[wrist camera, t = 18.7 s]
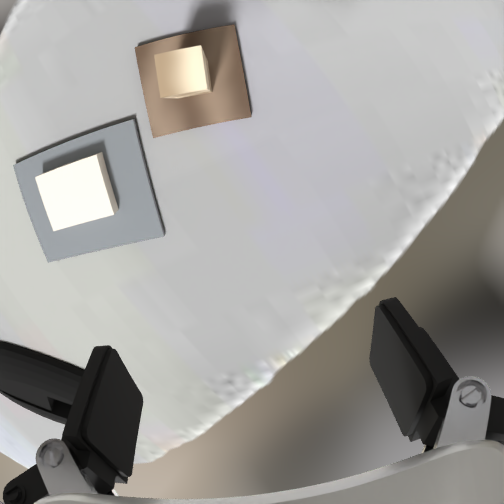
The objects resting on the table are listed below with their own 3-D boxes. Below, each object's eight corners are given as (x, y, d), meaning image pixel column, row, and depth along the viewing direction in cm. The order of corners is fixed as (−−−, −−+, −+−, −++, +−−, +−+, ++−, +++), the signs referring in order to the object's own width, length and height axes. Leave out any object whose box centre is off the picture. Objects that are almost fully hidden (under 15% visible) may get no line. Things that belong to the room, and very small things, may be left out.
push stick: (207, 60, 32) (201, 45, 22) (212, 92, 33) (207, 88, 24) (173, 67, 32) (154, 54, 22) (178, 98, 33) (160, 97, 24)
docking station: (-31, 321, 47) (-41, 335, 43) (128, 377, 56) (123, 397, 51) (-7, 387, 57) (-13, 400, 53) (126, 434, 66) (124, 450, 61)
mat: (134, 118, 35) (133, 119, 34) (165, 233, 42) (164, 236, 41) (15, 164, 35) (13, 165, 34) (50, 259, 42) (48, 262, 42)
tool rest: (234, 26, 31) (234, 24, 30) (250, 116, 36) (251, 117, 35) (136, 48, 31) (134, 47, 30) (154, 137, 36) (153, 138, 35)
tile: (119, 208, 39) (102, 151, 35) (114, 214, 37) (96, 154, 33) (60, 225, 39) (42, 173, 35) (53, 231, 37) (35, 177, 34)
